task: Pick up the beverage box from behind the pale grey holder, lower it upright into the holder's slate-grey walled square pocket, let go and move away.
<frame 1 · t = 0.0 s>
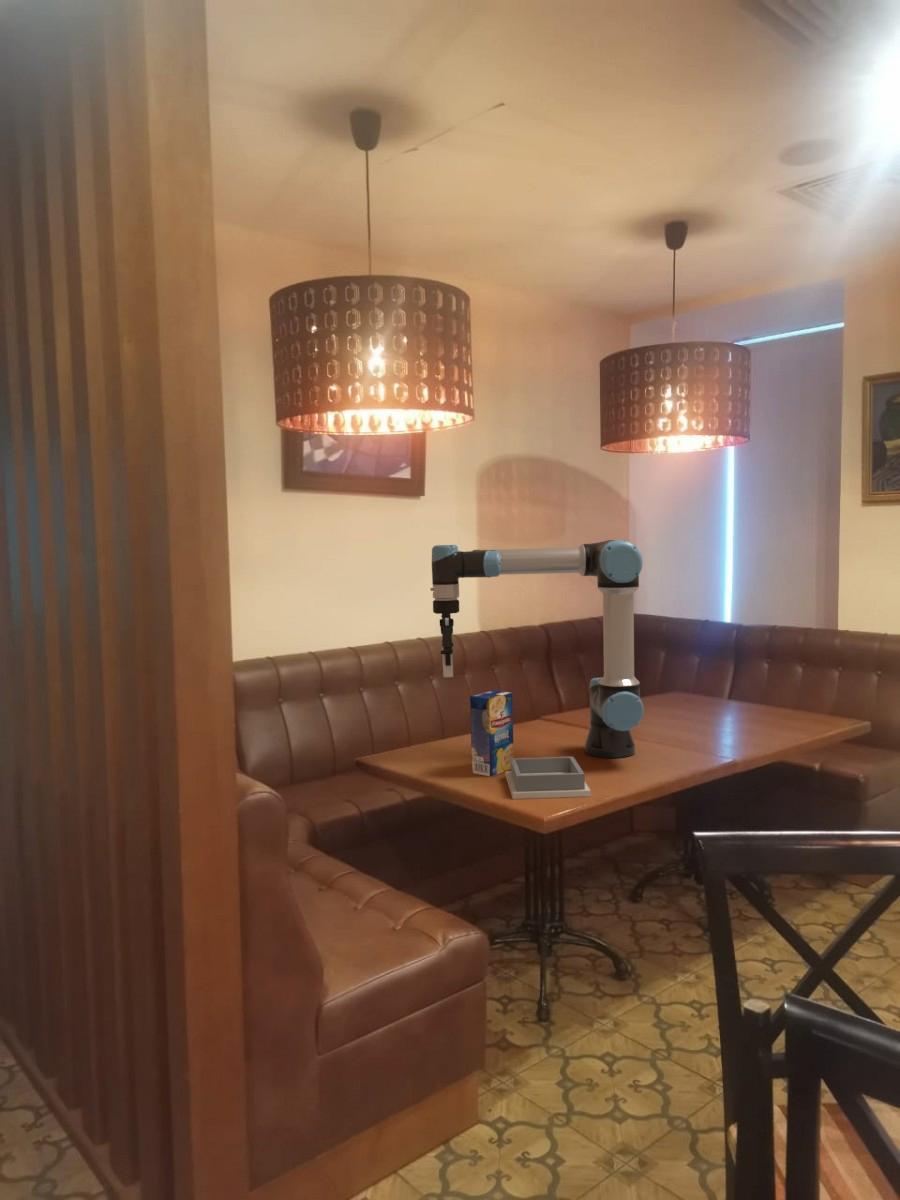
hand: (447, 673, 244), 28 cm above the table, fingers open, 13 cm apart
holder: (546, 786, 227), on the table
beverage box: (493, 771, 244), on the table
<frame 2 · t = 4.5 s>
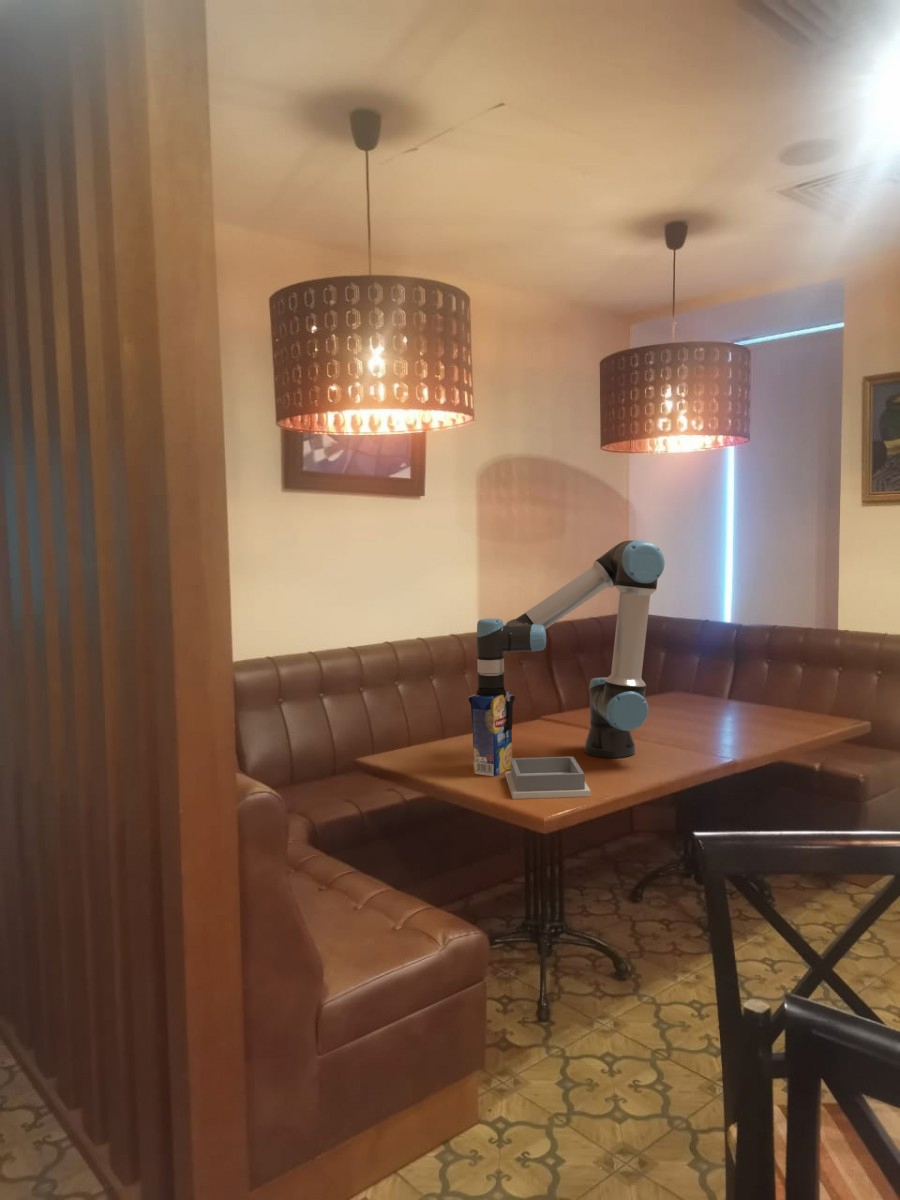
hand: (492, 754, 243), 5 cm above the table, fingers closed on beverage box, 4 cm apart
beverage box: (493, 770, 244), on the table, touching gripper
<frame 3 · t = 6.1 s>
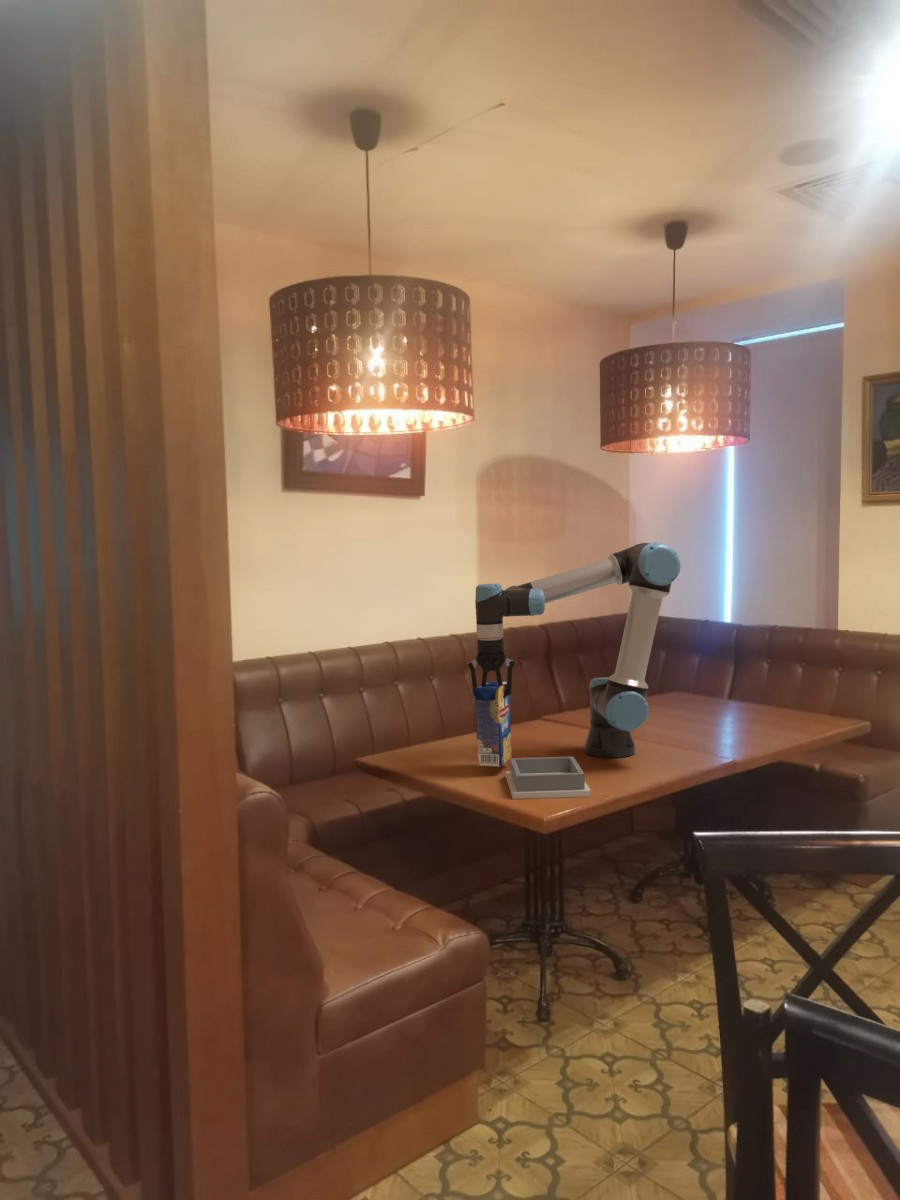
hand: (493, 719, 243), 15 cm above the table, fingers closed on beverage box, 3 cm apart
beverage box: (495, 761, 244), point 2 cm above the table, touching gripper
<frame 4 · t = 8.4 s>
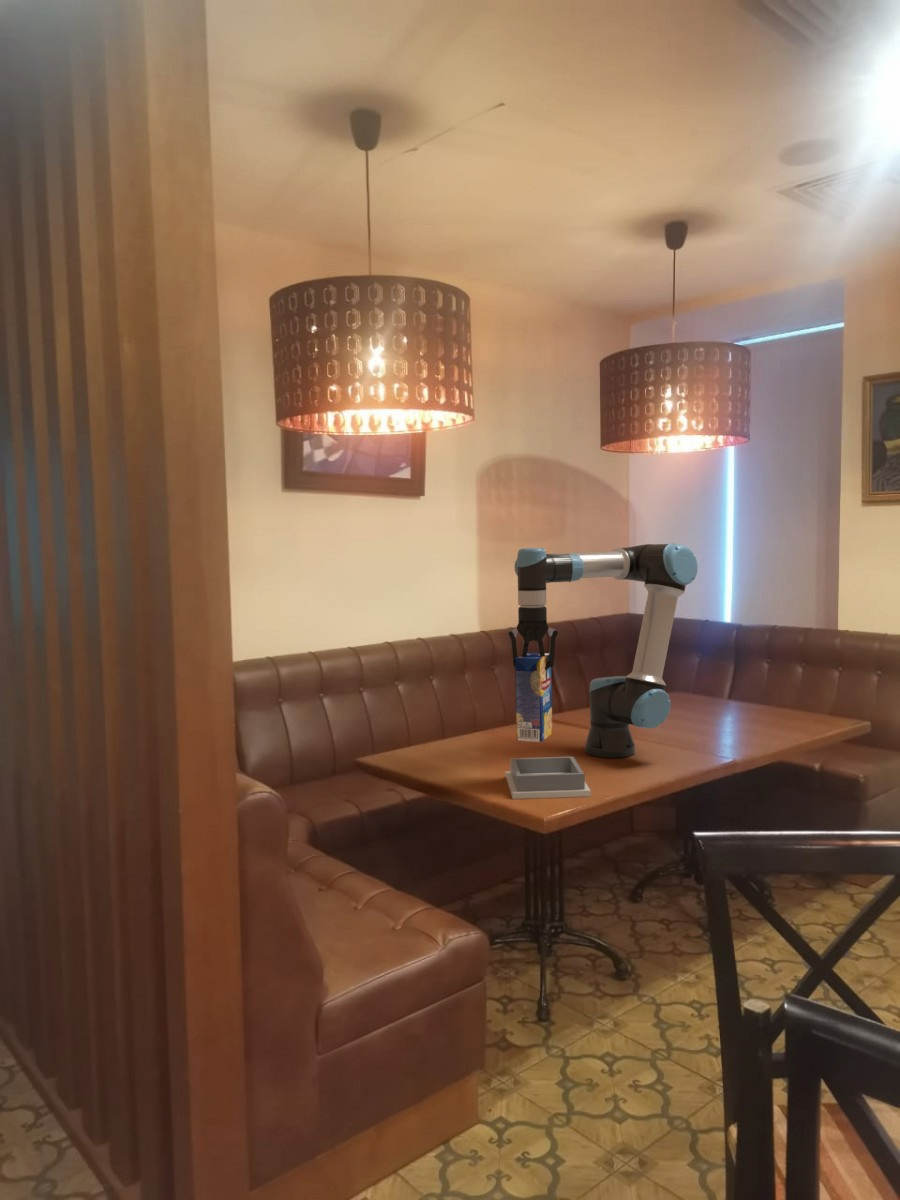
hand: (533, 693, 228), 25 cm above the table, fingers closed on beverage box, 3 cm apart
beverage box: (534, 737, 229), point 12 cm above the table, touching gripper, hand
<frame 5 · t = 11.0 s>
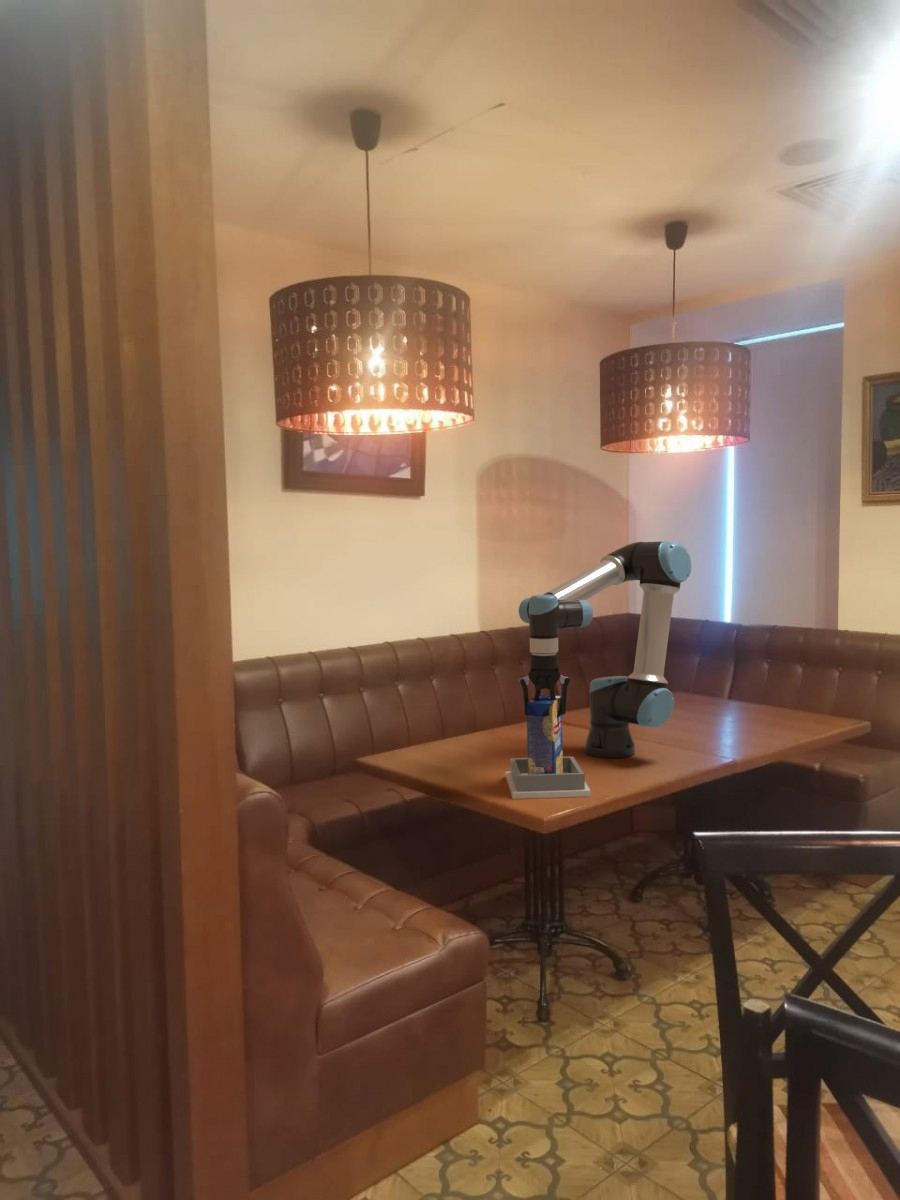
hand: (545, 741, 226), 12 cm above the table, fingers open, 3 cm apart
beverage box: (545, 781, 227), point 1 cm above the table, touching holder
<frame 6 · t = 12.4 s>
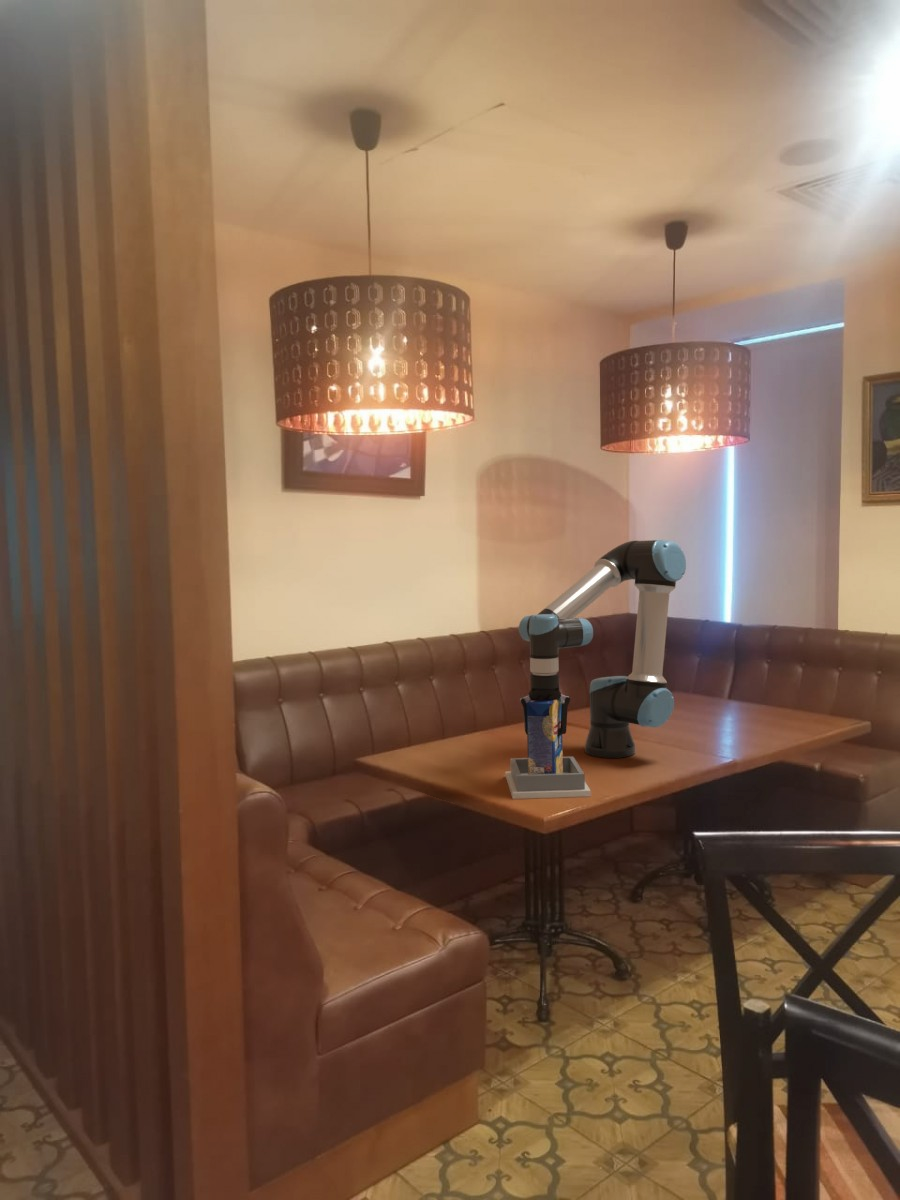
hand: (545, 760, 227), 7 cm above the table, fingers open, 3 cm apart
beverage box: (545, 781, 227), point 1 cm above the table, touching gripper, holder
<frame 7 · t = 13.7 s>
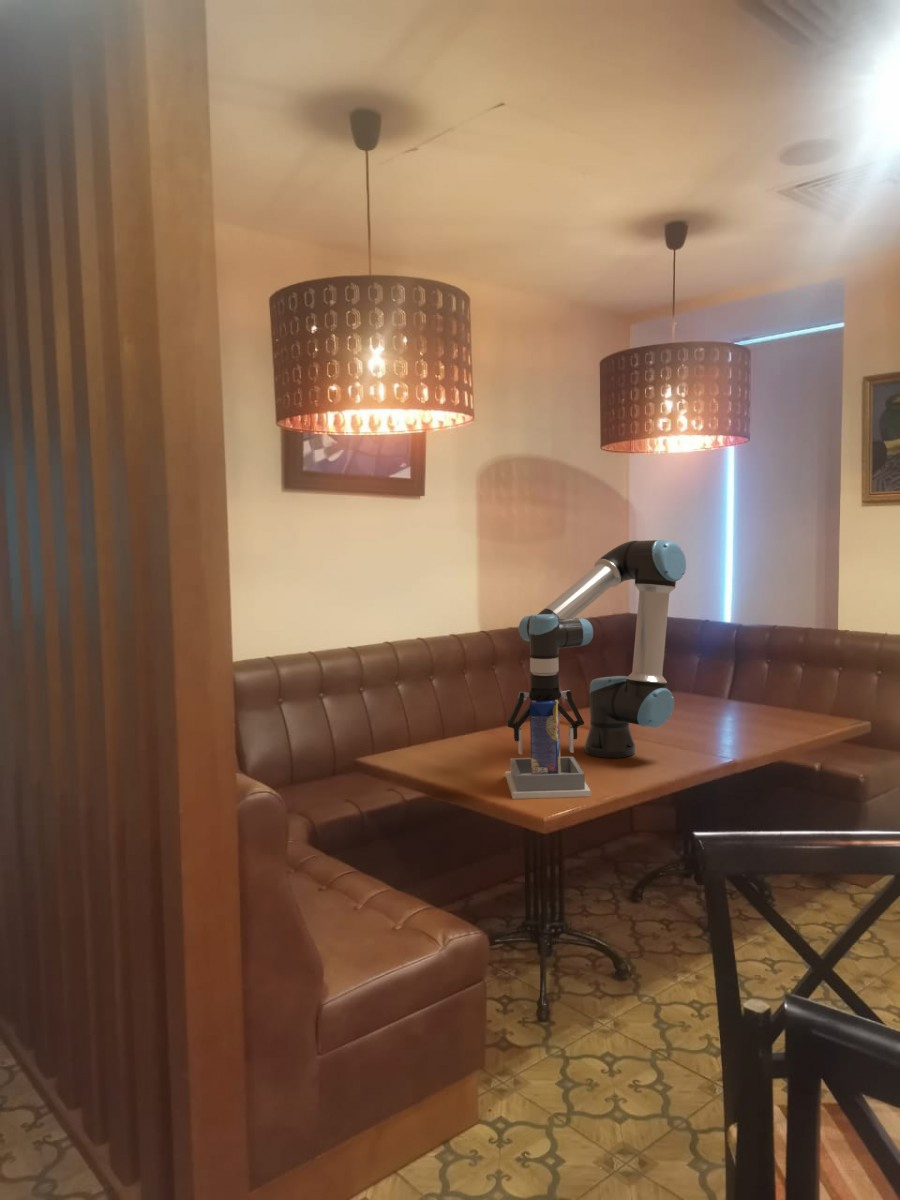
hand: (545, 752, 226), 9 cm above the table, fingers open, 13 cm apart
beverage box: (546, 781, 227), point 1 cm above the table, touching holder
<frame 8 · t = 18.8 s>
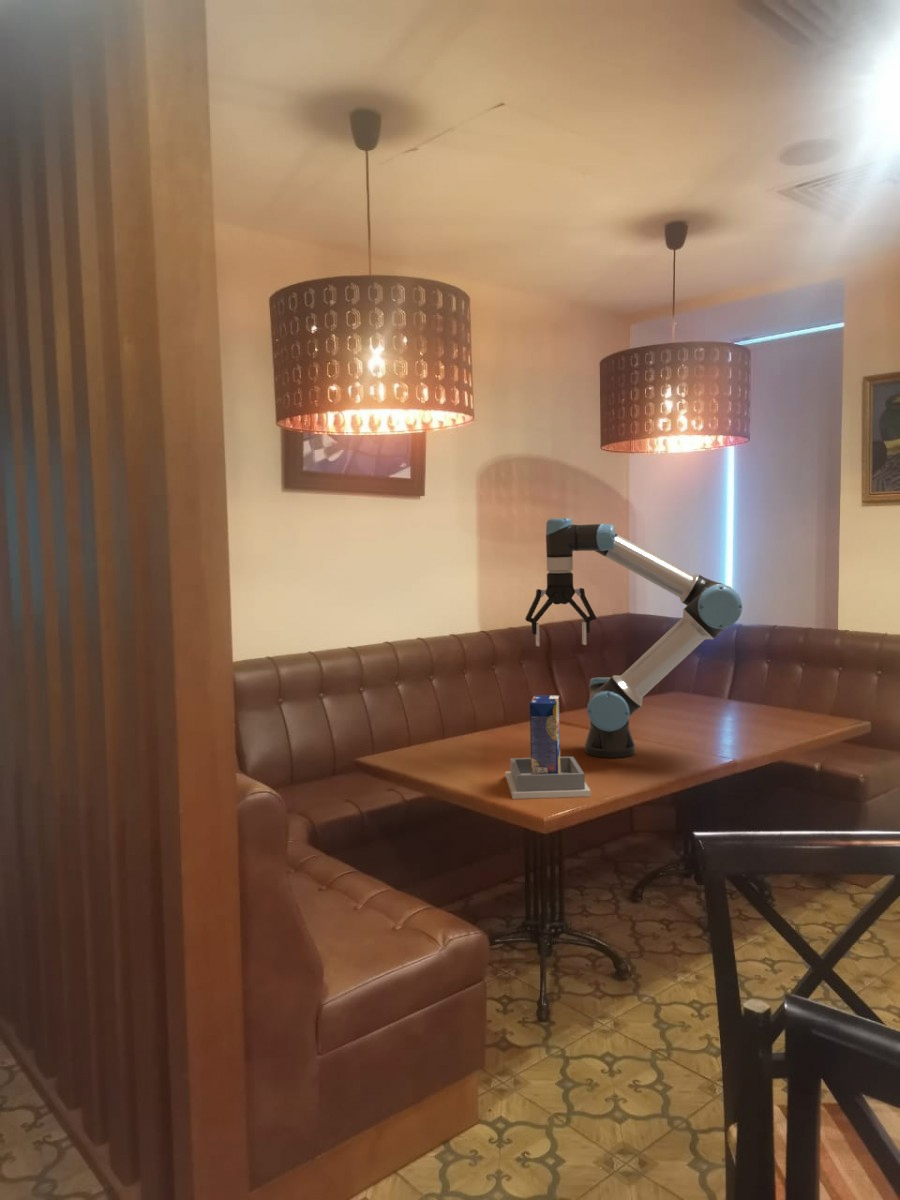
hand: (561, 645, 248), 35 cm above the table, fingers open, 13 cm apart
nothing on the table moved.
at the end: beverage box 0.1 cm off-centre on the holder, point 1.3 cm above the holder's base; beverage box tilted 0°; the gripper is holding nothing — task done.
